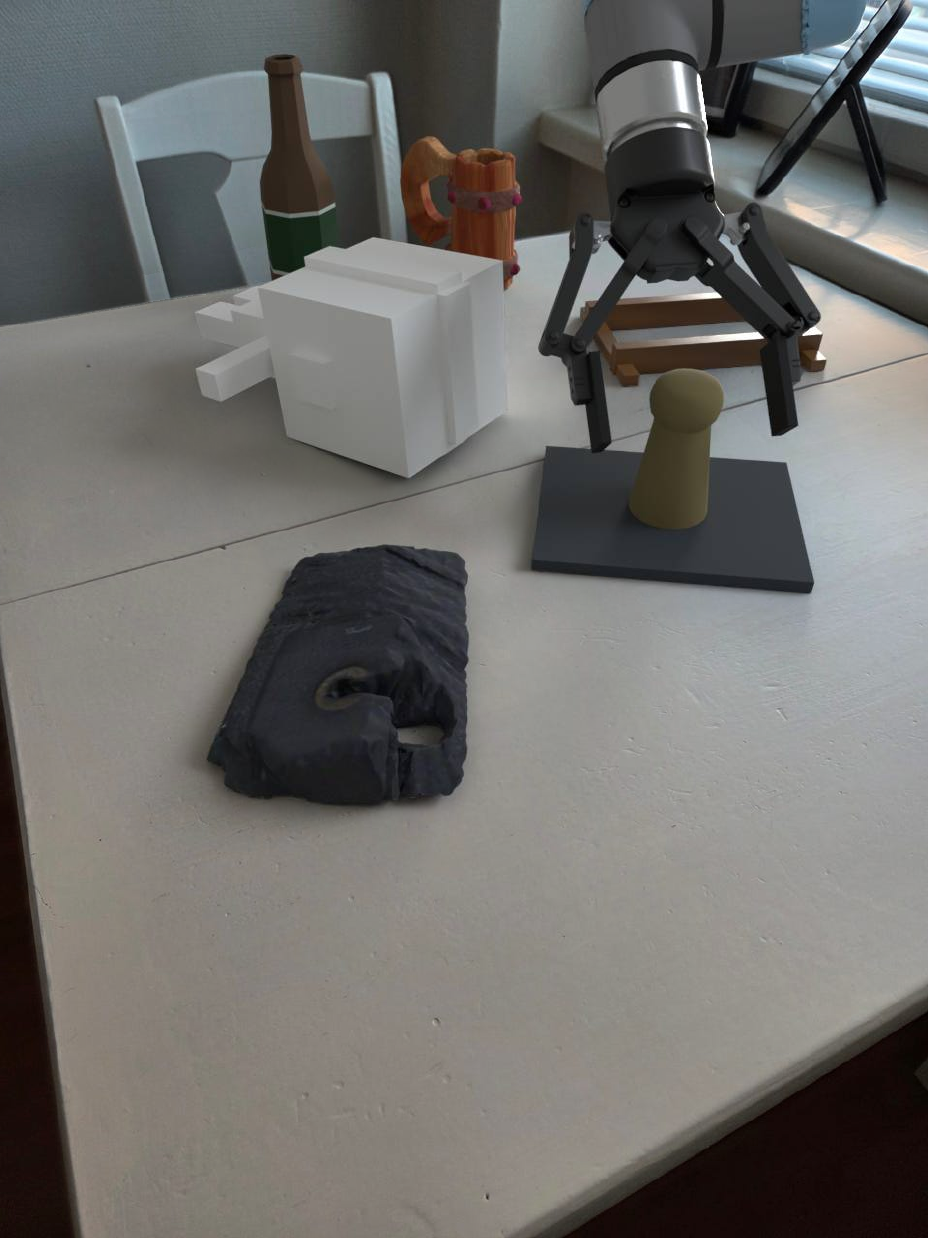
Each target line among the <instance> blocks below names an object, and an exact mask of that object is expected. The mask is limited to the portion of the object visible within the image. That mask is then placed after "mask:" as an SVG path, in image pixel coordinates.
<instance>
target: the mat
mask: <svg viewBox="0 0 928 1238" xmlns="http://www.w3.org/2000/svg"><path fill="white" fill-rule="evenodd" d="M643 453H644V451H643V452H641V451H627V450H616V449H615V450H614V449H605V450H604V451H603V452H601V453H591V448H586V447H585V448H582V447H572V446H571V447H570V446H568V447H567V446H558V445H557V446H556V445H546V446H545V451H544V460H543V467H542V476H541V483H540V491H539V500H538V508H537V515H536V522H535V532H534V540H533V547H532V554H531V555H532V556H531V565H530V566H531V567H530V570H531V571H538V572H549V573H562V574H572V575H586V576H587V575H588V576H598V577H599V576H600V577H611V578H623V579H636V580H646V581H647V580H648V581H659V582H671V583H672V582H673V583H682V584H683V583H684V584H695V585H706V586H707V585H708V586H719V587H732V588H746V589H755V590H770V591H780V592H781V591H782V592H793V593H803V594H804V593H805V594H811V593H812V591H813V588H814V585H815V579H814V574H813V571H812V566H811V563H810V559H809V554H808V550H807V544H806V542H805V537H804V532H803V528H802V524H801V520H800V515H799V510H798V506H797V502H796V498H795V494H794V490H793V485H792V480H791V477H790V473H789V472H790V471H789V468H788V463H787V462H786V461H770V460H769V461H768V460H755V459H743V458H727V457H713V456H710V463H709V485H708V506H707V514H706V517H705V519H704V520H703V521H702V522H700V523H699V524H698V525H695V526H693V527H690V528H686V529H679V530H671V529H662V528H657V527H653V526H650V525H648V524H646V523H644V522H642V521H640V520H639V519H638V518H637V517H635V516H634V515H633V513H632V512H631V510H630V508H629V500H630V496H631V493H632V490H633V486H634V483H635V480H636V476H637V473H638V470H639V466H640V463H641V460H642V457H643Z"/></svg>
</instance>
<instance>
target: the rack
mask: <svg viewBox="0 0 928 1238" xmlns="http://www.w3.org/2000/svg"><path fill="white" fill-rule="evenodd" d="M598 300H599V299H598ZM598 300H596V299H595V300H586V301H585V302H584V303H585V304H584V306H581V307H580V310H579V319H580V321H581V322H582V323H583V322H584V321H585V319H586V318H587V316H588V315H589V313H590V312H591V310H592V309H593V307H594V306H595V304H596V303H597V301H598ZM735 322H736V323H737V322H747V321H746V320H745V319H744V318H743V317H742V316H741V315H740V314H739V313H737V312H736V311H735V310H734V309H733V308H732V307H731V306H730V305H729V304H728V303H727V302H726V301H725V300H724V299H723V298H722V297H721V296H720V295H719V294H718V293H717V292H716V291H714V292H700V293H698V292H697V293H687V294H686V293H685V294H671V295H670V294H669V295H656V296H641V297H628V298H627V297H625V298H620V299H619V301H618V302H617V304H616V305H615V307H614V308H613V310H612V311H611V313H610V314H609V316H608V317H607V319H606V320H605V322H604V323H603V325H602V326H601V328H600V329H599V331H598V332H597V334H596V335H595V337H594V338H593V340H592V341H594V343H595V345H596V347H597V348H598V349H599V351H600V354H602V356H603V357H604V359H605V361H606V362H607V364H608V366H609V371H610V373H611V374H612V376H613V377H616V378H617V381H618V382H619V384H620V386H621V387H623V388H626V387H637V386H639V383H640V376H641V375H646V374H647V375H648V374H658V373H665V372H668V371H671V370H675V369H682V368H686V369H696V370H711V369H712V370H713V369H722V368H734V367H735V368H736V367H751V366H760V365H761V366H762V364H761V357H760V349H761V348H763V347H764V346H765V345H766V344H767V343H768V342H767V341H766V340H765V339H764V338H763V337H762V336H761V335H760V334H759V333H758V332H757V331H755V332H742V333H729V334H714V335H713V334H712V335H701V336H700V335H699V336H686V337H674V338H660V339H659V338H658V339H646V340H645V339H644V340H632V341H620V342H619V341H618V339H617V338H616V337H615V335H614V333H613V332H612V331H625V330H640V329H652V328H666V327H679V326H682V327H683V326H693V325H695V326H696V325H709V324H721V323H735ZM823 335H824V334H823V333H822V332H821V330H819V329H818V328H817V327H812V328H811V329H810V330H808V331H807V332H806V333H805V334H803V335H802V336H800V337H798V338H797V344H798V351H799V358H800V365H802V366H803V367H804V368H805V369H806V370H807V371H808V372H809V373H813V372H823V371H825V368H826V365H827V361H828V360H827V358H826V357H825V356H824V355H823V354H822V353H821V352H820V351H819V350H820V346H821V344H822V343H821V342H822V339H823Z"/></svg>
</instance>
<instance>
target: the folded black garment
mask: <svg viewBox="0 0 928 1238" xmlns="http://www.w3.org/2000/svg"><path fill="white" fill-rule="evenodd" d="M468 579H469V574H468V572H467V570H466V560H465V559H464V558H463V557H462V555H460V554H459V553H457V552H454V551H451V550H450V551H449V550H438V549H431V548H427V547H424V548H415V546H413V545H412V546H411V545H400V544H379V545H373V546H365V547H356V548H352V549H350V550H341V551H332V552H318V553H316V554H314V555H313V556H305V557H303V558H301V559H300V560H298V562H297V563H296V564H295V566H294V568H293V569H292V570H291V573H290V576H289V577H288V578H287V579H286V581H285V583H284V585H283V589H282V592H281V594H282V596H281V598H280V599H279V600H278V601H277V602H276V603H275V605H274V609H272V611H271V612H270V614H269V616H268V622H267V623H266V625H265V626H264V628H263V630H262V632H261V633H260V635H259V637H258V638H257V640H256V644H255V645H254V647H253V650H252V653H251V656H250V657H249V658H248V660H247V662H246V665H245V669H244V673H243V675H242V677H241V678H240V680H239V681H238V684H237V686H236V690H235V692H234V694H233V696H232V699H231V701H230V704H229V705H228V708H227V711H226V713H225V714H224V716H223V719H222V721H221V724H220V726H219V727H218V729H217V732H216V734H215V736H214V738H213V740H212V743H211V744H210V746H209V750H208V752H207V754H206V755H207V756H206V761H207V762H209V763H211V764H212V765H215V766H217V767H221V768H222V770H223V771H224V780H223V784H224V786H225V787H226V788H227V789H229V790H231V791H233V792H236V793H244V794H245V795H246V796H247V797H250V798H263V799H264V800H269V799H272V798H273V797H280V796H281V797H293V798H299V799H303V800H306V801H308V802H312V803H319V804H323V805H334V806H335V805H336V806H367V807H369V806H370V807H371V806H377V805H381V804H382V803H383V802H385V801H388V800H394V801H397V800H398V798H399V796H400V797H401V798H403V799H416V800H417V799H420V798H421V797H422V795H426V796H431V797H432V796H433V797H434V796H439V795H442V796H445V797H448V796H449V797H450V795H452V794H453V792H454V791H455V790H456V788H457V787H459V786H460V785H461V783H462V782H463V777H464V776H465V771H464V768H463V766H464V763H465V761H466V759H467V754H468V745H467V725H468V696H467V692H468V689H467V688H468V684H467V682H466V680H467V677H468V676H467V671H466V670H465V669H466V667H467V665H468V663H469V661H470V660H469V659H470V658H469V656H468V651H469V645H470V634H469V630H468V626H467V624H466V623H467V619H468V616H467V608H466V607H467V598H466V597H467V596H466V586H467V585H468ZM417 725H437V726H438V727H439V728H440V729H441V731H442V732H443V735H442V736H441V737H440V739H439V741H438V742H436V743H435V744H431V745H426V744H423V743H411V742H402V741H400V740H399V739H398V736H399V731H398V730H397V728H400V727H404V726H417Z"/></svg>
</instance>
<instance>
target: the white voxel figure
mask: <svg viewBox="0 0 928 1238" xmlns="http://www.w3.org/2000/svg"><path fill="white" fill-rule="evenodd" d="M304 260H305V267H303V268H301V269H299V270H296V271H294V272H292V273H289V274H287V275H285V276H282V277H280V278H278V279H276V280H273V281H272V280H270V281H269V282H267V283H264V284H262V285H255V286H253V287H250V288H248V289H246V290H243V291H241V292H238V293H236V294H234V295H232V299H233V303H234V304H233V303H229V302H225V301H218V302H215V303H213V304H210V305H207V306H206V307H203V308H202V309H199V310H197V311H195V312H194V314H195V318H196V321H197V326H198V330H199V335H200V337H201V338H203V339H208V340H212V341H214V342H218V343H222V344H225V345H228V346H232V347H236V349H234V350H232V351H229V352H228V353H226V354H223V355H222V356H220V357H217V358H215V359H214V360H212V361H208V362H207V363H205V364H203V365H200V366H198V367H197V368H195V372H196V373H195V374H196V377H197V381H198V385H199V388H200V393H201V395H202V396H203V397H205V398H208V399H211V400H213V401H217V402H220V403H222V402H224V401H225V400H227V399H229V398H231V397H233V396H235V395H238V394H239V393H241V392H243V391H245V390H246V389H247V390H248V389H249V388H251V387H253V386H254V385H256V384H258V383H260V382H262V381H265V380H267V379H268V378H272V379H275V382H276V387H277V393H278V398H279V399H278V400H279V403H280V408H281V413H282V418H283V423H284V429H285V433H286V437H287V438H290V439H292V440H296V441H298V442H301V443H304V444H307V445H310V446H313V447H316V448H318V449H321V450H325V451H328V452H331V453H334V454H336V455H339V456H342V457H346V458H348V459H351V460H354V461H357V462H360V463H362V464H366V465H369V466H370V467H371V466H372V467H375V468H378V469H380V470H383V471H386V472H389V473H392V474H395V475H398V476H401V477H404V478H406V479H410V478H411V477H413V476H414V475H416V474H417V473H419V472H421V471H422V470H424V469H425V468H426V467H427V466H429V465H431V464H432V463H433V462H435V461H436V460H437V459H439V458H440V457H444V456H445V455H447V454H449V453H450V452H451V451H453V450H454V449H455V448H457V447H459V446H461V444H463V443H464V442H465V441H466V440H467V439H468V438H470V437H471V436H472V435H474V434H475V433H476V432H477V433H478V431H480V430H481V429H483V428H484V427H485V426H487V425H488V424H490V423H491V422H493V421H494V420H495V419H497V418H499V417H500V416H501V415H503V414H504V413H507V411H509V407H508V405H509V403H508V377H507V373H508V372H507V349H506V347H507V345H506V321H505V319H506V318H505V317H506V316H505V290H504V287H503V261H502V260H496V259H491V258H485V257H480V256H474V255H469V254H463V253H458V252H452V251H447V250H445V249H441V248H435V247H429V246H426V245H425V246H423V245H418V244H412V243H407V242H402V241H397V240H390V239H386V238H380V237H374V236H373V237H372V236H371V238H367V239H366V240H364V241H361V242H359V243H356V244H354V245H352V246H349V247H347V248H341V247H339V248H337V247H332V246H329V247H326V248H324V249H322V250H319V251H317V252H315V253H312V254H310V255H307V256H305V257H304Z"/></svg>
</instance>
